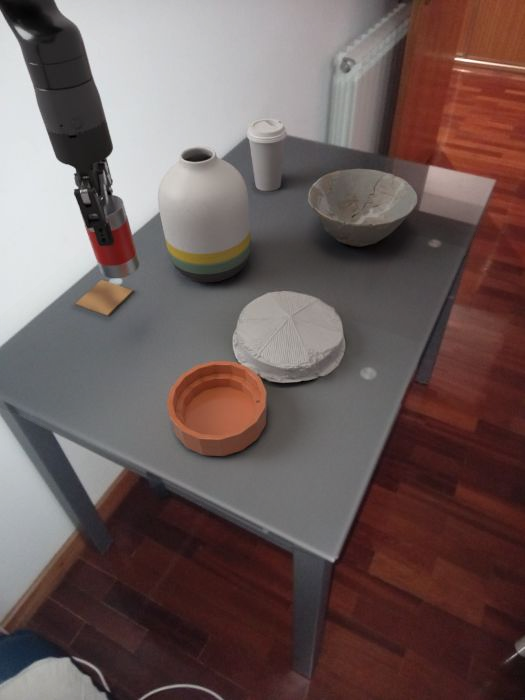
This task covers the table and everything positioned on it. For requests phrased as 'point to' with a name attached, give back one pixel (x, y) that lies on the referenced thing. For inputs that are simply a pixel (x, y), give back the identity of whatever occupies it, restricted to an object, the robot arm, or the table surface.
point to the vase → (205, 216)
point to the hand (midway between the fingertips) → (108, 230)
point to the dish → (218, 408)
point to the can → (115, 243)
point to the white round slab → (289, 337)
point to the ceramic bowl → (361, 204)
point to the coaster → (104, 297)
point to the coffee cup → (267, 152)
